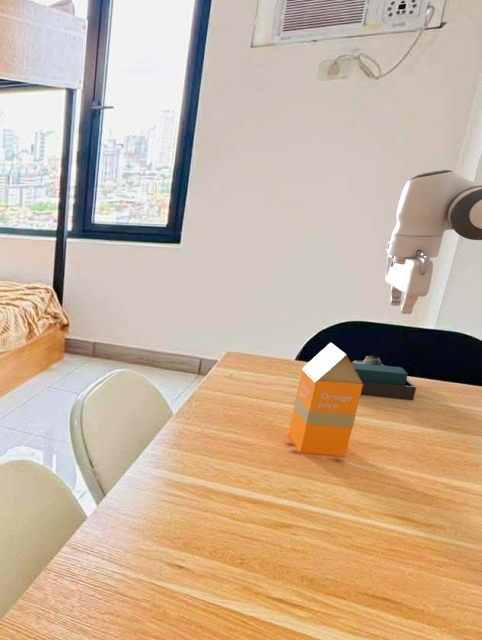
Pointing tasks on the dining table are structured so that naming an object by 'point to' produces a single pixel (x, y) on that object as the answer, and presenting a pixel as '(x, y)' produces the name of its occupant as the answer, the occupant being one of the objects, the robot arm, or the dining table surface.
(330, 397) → the orange juice
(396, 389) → the dark grey tray
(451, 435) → the dining table surface
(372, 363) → the grey shoe
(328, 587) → the dining table surface
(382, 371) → the dark teal block
